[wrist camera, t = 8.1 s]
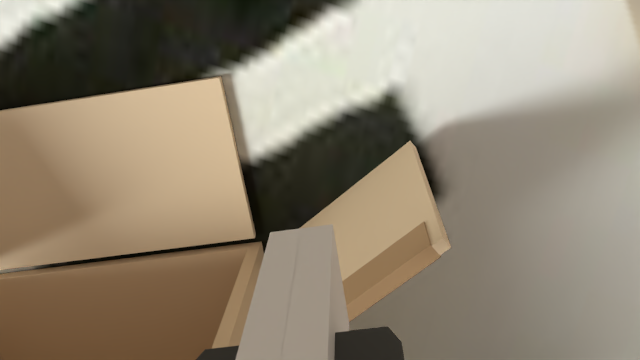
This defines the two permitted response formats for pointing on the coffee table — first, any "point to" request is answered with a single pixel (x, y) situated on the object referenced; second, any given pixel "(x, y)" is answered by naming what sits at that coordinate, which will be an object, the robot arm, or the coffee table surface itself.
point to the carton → (124, 226)
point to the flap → (384, 229)
